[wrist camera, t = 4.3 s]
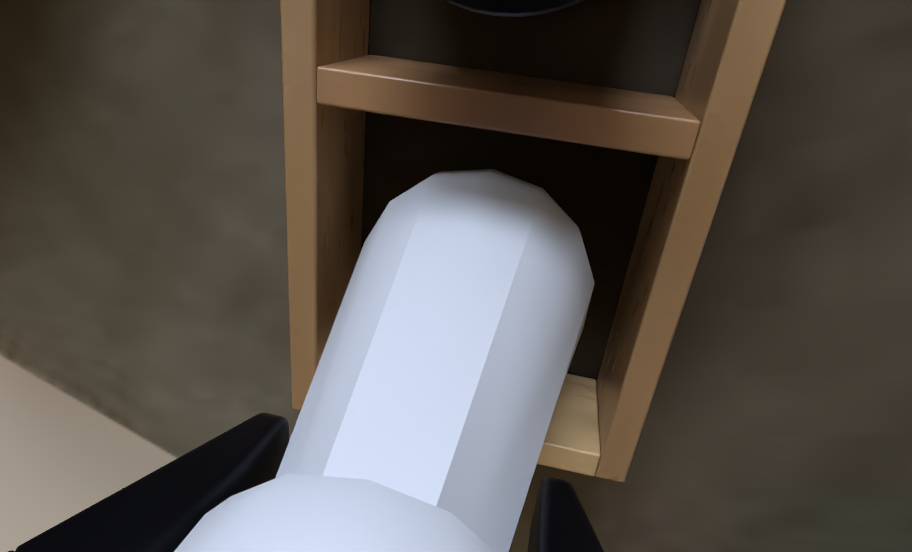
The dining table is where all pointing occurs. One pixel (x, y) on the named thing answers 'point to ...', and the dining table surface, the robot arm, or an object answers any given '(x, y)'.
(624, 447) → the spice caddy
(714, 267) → the dining table surface
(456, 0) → the cylinder
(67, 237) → the dining table surface
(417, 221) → the salt shaker
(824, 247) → the dining table surface
